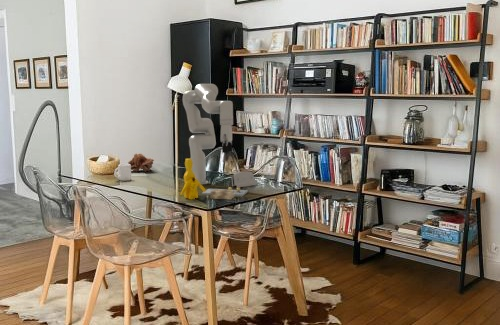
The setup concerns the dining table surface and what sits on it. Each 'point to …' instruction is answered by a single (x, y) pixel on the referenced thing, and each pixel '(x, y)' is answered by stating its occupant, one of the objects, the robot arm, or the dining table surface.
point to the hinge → (243, 179)
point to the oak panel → (222, 194)
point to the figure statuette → (190, 182)
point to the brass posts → (237, 189)
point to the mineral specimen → (140, 163)
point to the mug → (123, 172)
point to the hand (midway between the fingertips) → (227, 152)
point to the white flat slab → (241, 193)
